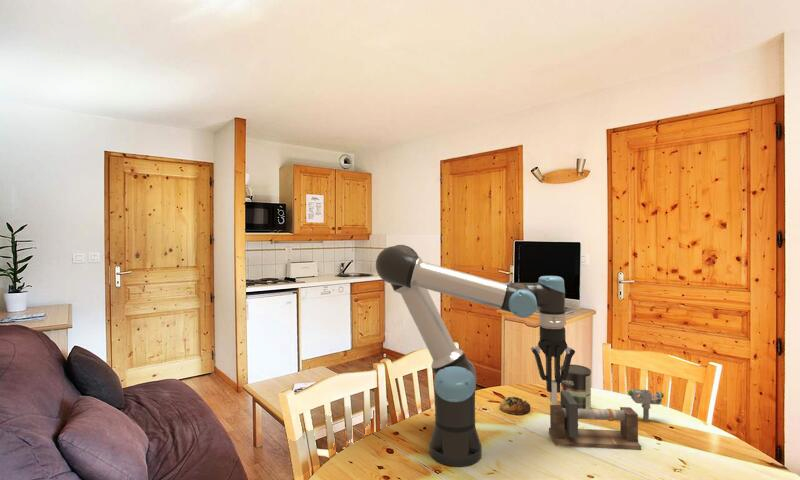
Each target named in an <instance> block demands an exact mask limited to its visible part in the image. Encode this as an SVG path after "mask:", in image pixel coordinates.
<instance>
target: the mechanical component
mask: <svg viewBox="0 0 800 480" xmlns="http://www.w3.org/2000/svg"><path fill="white" fill-rule="evenodd" d="M628 395H629V397H631V399H632V401H634V403H636V404H641V407H642V409H643V411H642V412H643V413H642V414H643V420H644V422H645V423H646V422H647V423H648V422H650V409H651V408H652V407H651V405H658V406H659V405H662V402H663V399H664V397H665V395H664V392H660V391H656V394H653V393H652V391H651V390H649V389H638V388H637V389H636V388H635V389H633V388H631V389H630V390H628Z"/></svg>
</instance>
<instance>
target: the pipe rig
mask: <svg viewBox="0 0 800 480" xmlns="http://www.w3.org/2000/svg"><path fill="white" fill-rule="evenodd" d="M619 408H620V409H612V408H606V409H605V408H603V409H601V408H591V409H578V420H591V421H592V420H593V421H594V420H595V421H597V420H598V421H608V422H614V421H619V422H620V424H619V425H620V430H617V429H615V430H614V429H592V428H590V429H589V428H578V438H574V437H569V435H568V434H567V432H566V430H565V425H564V418H565V419H567V409H566V408H562V407H561V404H549V411H550V412H549V414H550V417H549V419H550V421H549V422H550V427H548V432H549V435H550V436H551V439H552V441H553V442H554V445H555V446H556V447H573V448H576V447H577V448H593V447H594V448H595V449H597V448H598V449H617V450H638V451H639V450H640V451H641V450H642V445H641V443H639V414H638V412H636V411H635V410H634V409H633V408H632V407H629V406H627V407H626V406H620V407H619Z"/></svg>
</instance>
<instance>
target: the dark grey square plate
mask: <svg viewBox="0 0 800 480" xmlns="http://www.w3.org/2000/svg"><path fill="white" fill-rule="evenodd" d="M559 393H560V395H559V396H560V406H561V407H562V408H566V409H567V419H565V418H564V425H565V430H566V432H567V434H568V435H569V437H574V438H578V429H579V419H578V404H577V402H576V401H575V400H574V398H573V397H572V396H571V394H570V393H569V392H568V391H561V390H560V392H559Z"/></svg>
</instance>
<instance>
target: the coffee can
mask: <svg viewBox="0 0 800 480" xmlns="http://www.w3.org/2000/svg"><path fill="white" fill-rule="evenodd" d="M562 367H563V365H560V372H561V371H562ZM591 380H592V370H591V369H590V368H589V367H586V366H584V365H579V364H571V363H570V367H569V371H568V375H567V379H566V380H563V381H561V383H560V391H568V392H569V393H570V394H571V396H572V397H573V398H574V400H575V401H576V402H577V404H578V409H592V405H591V404H592V401H591V399H592V396H591V395H592V386H591V385H592V381H591Z"/></svg>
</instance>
